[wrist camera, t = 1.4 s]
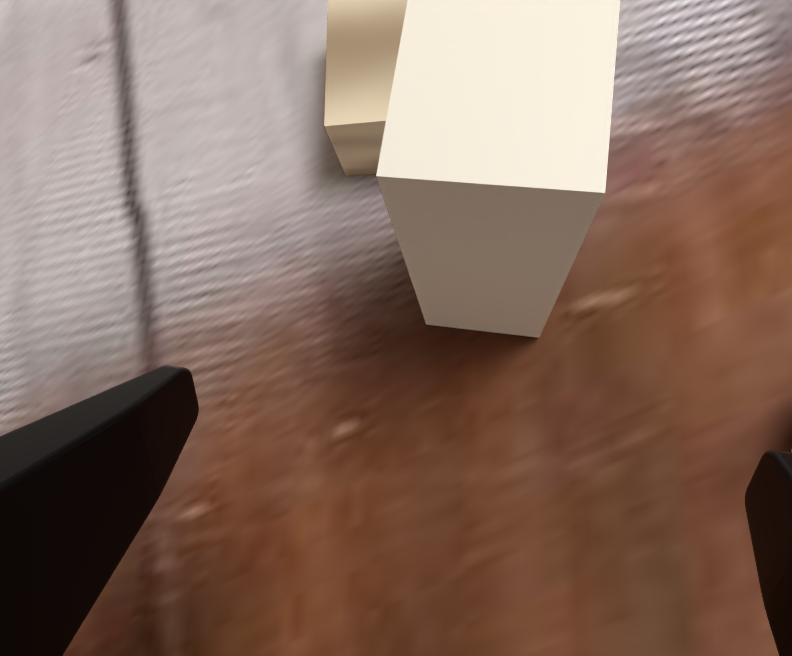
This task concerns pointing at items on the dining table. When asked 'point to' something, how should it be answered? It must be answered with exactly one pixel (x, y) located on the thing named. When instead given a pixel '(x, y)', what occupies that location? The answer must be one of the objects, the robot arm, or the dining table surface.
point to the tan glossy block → (360, 77)
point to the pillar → (497, 153)
